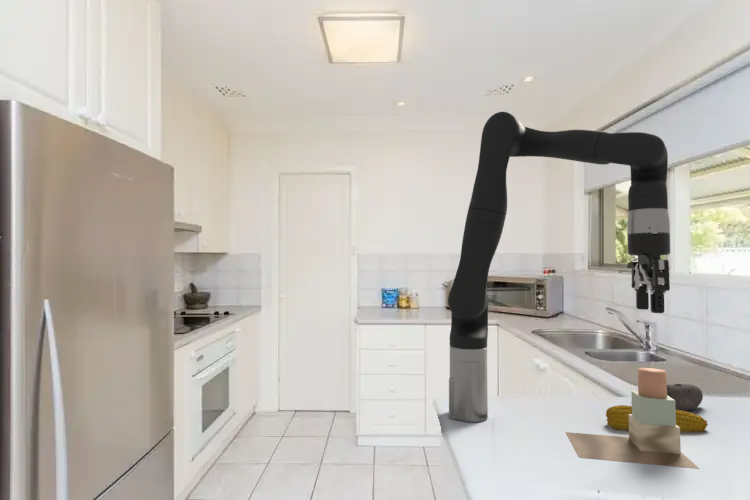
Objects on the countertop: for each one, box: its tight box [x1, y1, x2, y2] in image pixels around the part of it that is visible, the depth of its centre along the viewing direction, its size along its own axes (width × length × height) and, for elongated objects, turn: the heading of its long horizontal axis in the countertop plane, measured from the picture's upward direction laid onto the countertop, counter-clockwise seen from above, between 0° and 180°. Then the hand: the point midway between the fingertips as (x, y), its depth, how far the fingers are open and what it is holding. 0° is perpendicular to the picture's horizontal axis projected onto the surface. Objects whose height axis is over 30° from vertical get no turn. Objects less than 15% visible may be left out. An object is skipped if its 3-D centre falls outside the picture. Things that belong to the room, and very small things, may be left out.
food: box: [605, 404, 709, 433], centre depth 103 cm, size 21×6×6 cm, turn 87°
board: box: [565, 431, 700, 469], centre depth 90 cm, size 20×14×1 cm
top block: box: [631, 390, 676, 427], centre depth 92 cm, size 6×6×5 cm
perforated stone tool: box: [667, 383, 704, 412], centre depth 120 cm, size 15×5×7 cm, turn 112°
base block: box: [628, 414, 681, 454], centre depth 92 cm, size 7×7×5 cm
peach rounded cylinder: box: [637, 367, 668, 399], centre depth 92 cm, size 5×5×5 cm
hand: (649, 311), depth 93 cm, fingers open, 8 cm apart
